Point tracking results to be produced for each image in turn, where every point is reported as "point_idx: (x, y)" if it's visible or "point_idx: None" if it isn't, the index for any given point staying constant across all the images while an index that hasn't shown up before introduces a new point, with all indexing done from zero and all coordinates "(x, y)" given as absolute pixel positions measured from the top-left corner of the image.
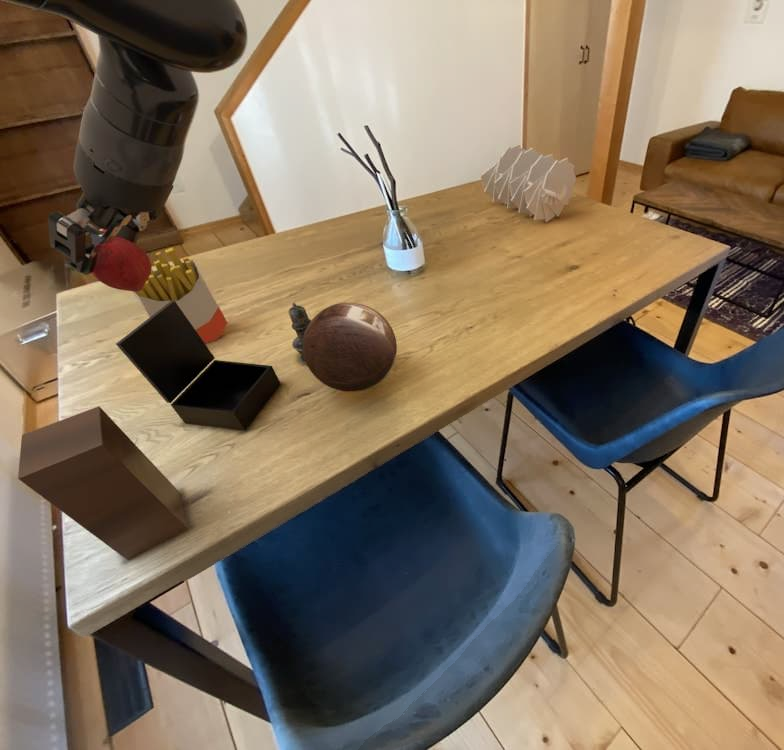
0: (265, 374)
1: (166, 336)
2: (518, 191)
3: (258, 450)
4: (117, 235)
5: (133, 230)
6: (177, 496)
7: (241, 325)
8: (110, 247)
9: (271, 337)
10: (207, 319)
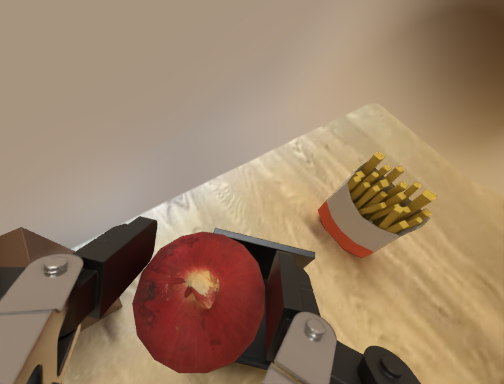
0: (257, 367)
1: (265, 257)
2: None
3: (159, 377)
4: (275, 272)
5: (269, 353)
6: (105, 314)
7: (368, 265)
8: (161, 323)
9: (352, 314)
10: (355, 240)
